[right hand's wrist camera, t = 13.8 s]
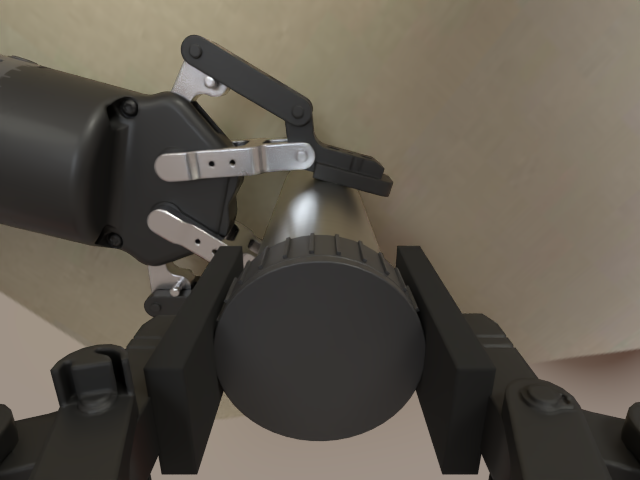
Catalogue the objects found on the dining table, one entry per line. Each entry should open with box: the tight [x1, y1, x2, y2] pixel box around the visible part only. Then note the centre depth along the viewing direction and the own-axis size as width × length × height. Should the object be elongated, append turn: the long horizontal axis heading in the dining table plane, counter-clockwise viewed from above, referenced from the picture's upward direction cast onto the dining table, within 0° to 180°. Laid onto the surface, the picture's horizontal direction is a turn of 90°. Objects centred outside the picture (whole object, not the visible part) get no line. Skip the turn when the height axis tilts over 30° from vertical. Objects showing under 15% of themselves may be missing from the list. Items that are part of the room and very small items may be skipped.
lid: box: [213, 233, 426, 441], centre depth 11 cm, size 5×6×2 cm
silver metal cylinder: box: [257, 169, 381, 256], centre depth 19 cm, size 5×5×16 cm
